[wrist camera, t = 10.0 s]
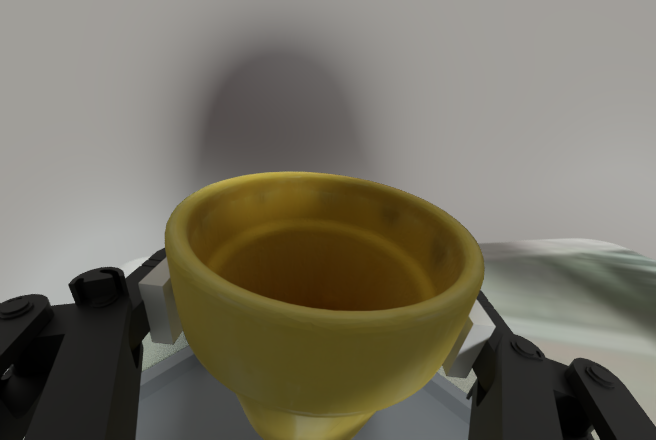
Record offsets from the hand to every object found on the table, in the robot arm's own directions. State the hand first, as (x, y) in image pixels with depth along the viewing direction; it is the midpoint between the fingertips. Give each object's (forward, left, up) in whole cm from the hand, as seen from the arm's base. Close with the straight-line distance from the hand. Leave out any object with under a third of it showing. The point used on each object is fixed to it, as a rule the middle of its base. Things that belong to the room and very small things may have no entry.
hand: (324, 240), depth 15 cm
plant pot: (-3, +3, -6) cm, 8 cm away
